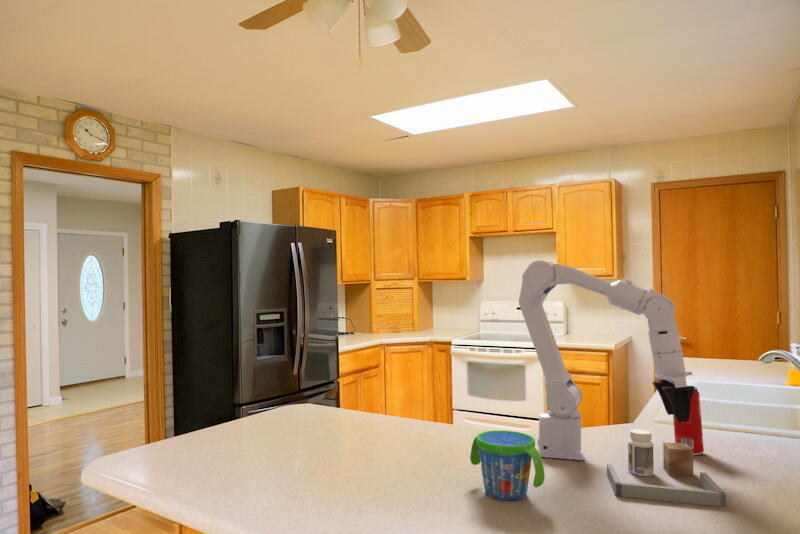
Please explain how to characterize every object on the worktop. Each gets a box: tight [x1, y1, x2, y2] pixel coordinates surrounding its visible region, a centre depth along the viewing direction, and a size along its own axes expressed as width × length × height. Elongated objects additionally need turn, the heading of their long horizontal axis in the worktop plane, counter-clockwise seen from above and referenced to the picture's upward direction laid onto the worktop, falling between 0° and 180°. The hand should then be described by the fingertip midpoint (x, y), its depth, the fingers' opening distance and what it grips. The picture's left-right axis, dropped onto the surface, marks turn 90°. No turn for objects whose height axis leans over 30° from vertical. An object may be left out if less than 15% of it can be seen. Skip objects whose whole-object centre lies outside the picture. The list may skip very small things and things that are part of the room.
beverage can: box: [672, 386, 705, 456], centre depth 124 cm, size 6×6×15 cm
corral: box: [606, 463, 727, 508], centre depth 100 cm, size 18×11×2 cm, turn 76°
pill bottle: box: [627, 428, 654, 477], centre depth 109 cm, size 5×5×8 cm
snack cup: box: [469, 430, 545, 501], centre depth 97 cm, size 16×10×10 cm
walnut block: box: [662, 441, 694, 479], centre depth 109 cm, size 4×4×6 cm
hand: (678, 417), depth 110 cm, fingers open, 7 cm apart
